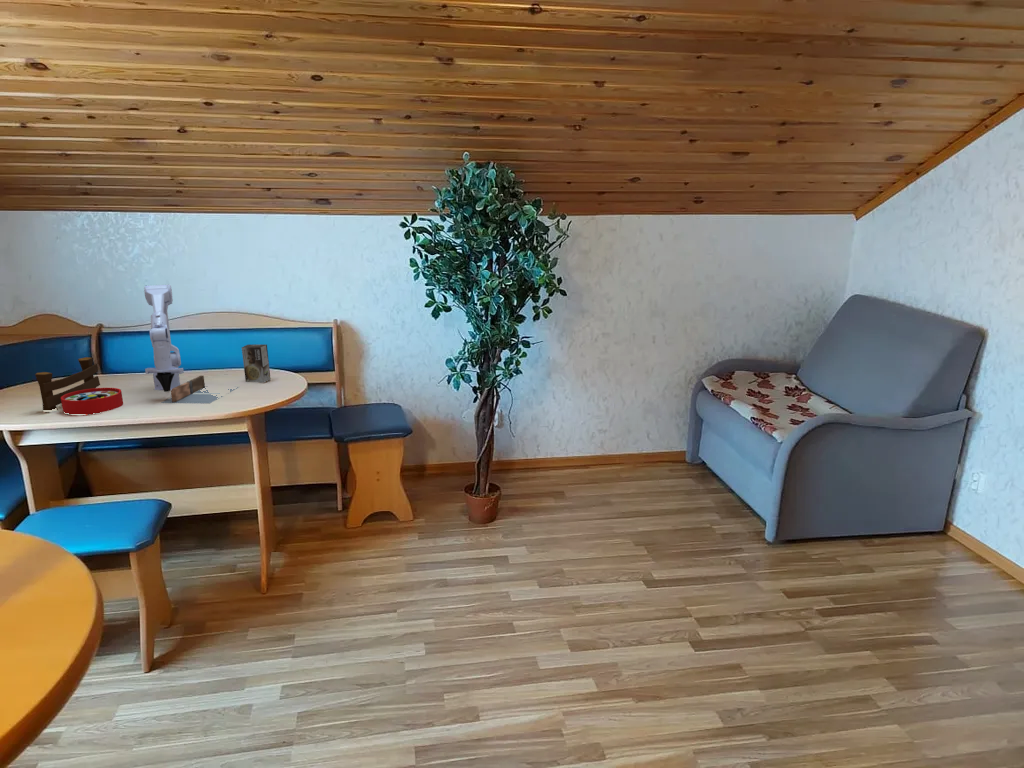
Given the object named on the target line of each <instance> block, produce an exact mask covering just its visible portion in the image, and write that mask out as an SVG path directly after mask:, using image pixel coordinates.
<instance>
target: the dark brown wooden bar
mask: <svg viewBox="0 0 1024 768" xmlns="http://www.w3.org/2000/svg"><path fill="white" fill-rule="evenodd" d="M186 382H189V383H190V384H189V387H190V394H193V393H194V392H196V391H198V390H200V389H202V388H205V387H206V385H205V384H206V383H205V377H204V375H199V376H197V377H195V378H193V379H190V380H188V381H187V380H186Z"/></svg>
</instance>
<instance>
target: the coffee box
mask: <svg viewBox="0 0 1024 768" xmlns="http://www.w3.org/2000/svg"><path fill="white" fill-rule="evenodd" d="M241 353H242V364H243V370H244V371H243V372H244V379H245V382H246V383H259V382H265V383H267V382H269V381H271V380H270V379H271V373H270V363H269V362H270V361H269V351H268V344H258V343H257V344H246V345H244V346H241ZM268 380H269V381H268ZM266 381H267V382H266Z"/></svg>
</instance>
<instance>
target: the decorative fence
mask: <svg viewBox="0 0 1024 768" xmlns="http://www.w3.org/2000/svg"><path fill="white" fill-rule="evenodd" d="M77 361H78V363H79V365H80V369H81V371H78V372H75V373H73V374H72V375H69V376H67V377H64V378H60V379H56V380H53V373H52V372H47V371H42V372H36V373H35V374H34V376H35V378H36V381H37V383H38V386H39V391H40V397H41V400H42V411H43V410H52V409H55V408H57V406H58V405H62V403H61V397H62V396H63V395H65V394H68V393H71V392H75V391H79V390H85V389H93V388H99V386H101V383H100V379H99V375H96V376H94V374H96V373H98V372H99V369H98V363H94V362H93V361H94V358H93V357H88V356H86V357H82V358H77ZM81 381H83V383H82V384H79V385H77V386H73V387H71V388H70V389H66V390H64V391H62V392H60V393H59V392H58V393H56V394H54V392H53V391H57V390H60V389H63V388H66V387H69V386H71V385H75V384H76V383H79V382H81ZM57 409H58V408H57Z"/></svg>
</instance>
